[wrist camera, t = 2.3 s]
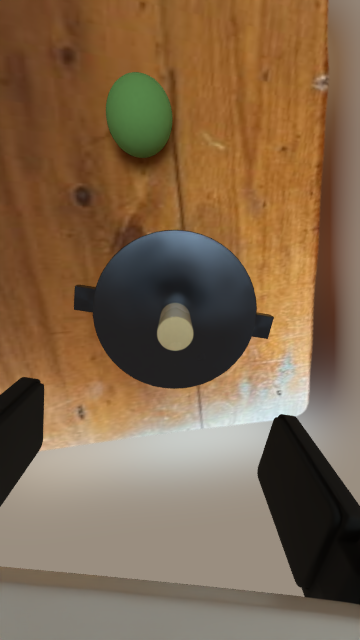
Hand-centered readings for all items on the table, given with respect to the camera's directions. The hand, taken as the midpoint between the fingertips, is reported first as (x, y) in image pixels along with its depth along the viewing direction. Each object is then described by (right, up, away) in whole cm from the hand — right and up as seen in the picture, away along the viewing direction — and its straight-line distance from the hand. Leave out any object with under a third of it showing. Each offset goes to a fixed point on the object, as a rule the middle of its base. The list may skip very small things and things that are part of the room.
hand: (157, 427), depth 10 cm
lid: (0, +5, +14) cm, 15 cm away
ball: (-3, +23, +13) cm, 26 cm away
